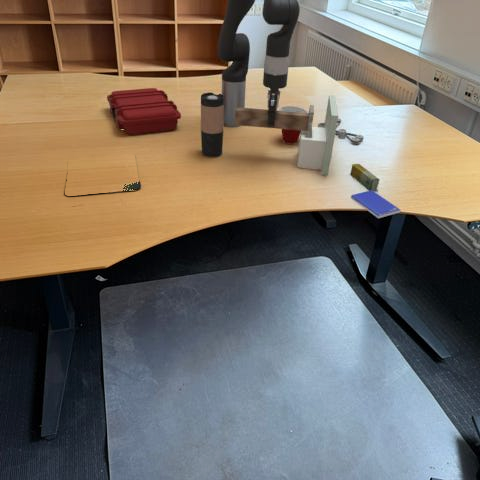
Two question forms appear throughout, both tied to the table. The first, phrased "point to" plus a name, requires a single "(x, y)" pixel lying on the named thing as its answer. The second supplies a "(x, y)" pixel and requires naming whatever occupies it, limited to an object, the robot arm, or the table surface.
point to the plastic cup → (291, 135)
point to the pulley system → (345, 134)
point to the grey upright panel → (319, 141)
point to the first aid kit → (143, 110)
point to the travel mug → (212, 124)
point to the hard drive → (375, 204)
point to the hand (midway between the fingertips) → (271, 123)
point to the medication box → (364, 177)
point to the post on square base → (281, 119)
